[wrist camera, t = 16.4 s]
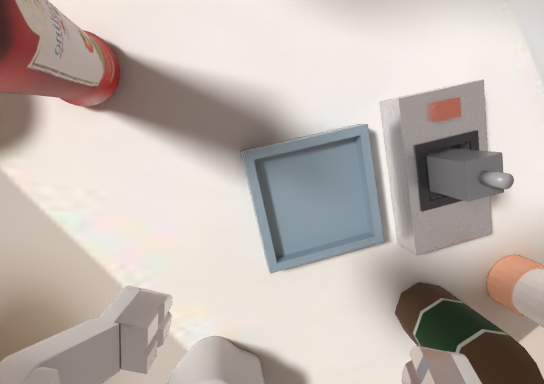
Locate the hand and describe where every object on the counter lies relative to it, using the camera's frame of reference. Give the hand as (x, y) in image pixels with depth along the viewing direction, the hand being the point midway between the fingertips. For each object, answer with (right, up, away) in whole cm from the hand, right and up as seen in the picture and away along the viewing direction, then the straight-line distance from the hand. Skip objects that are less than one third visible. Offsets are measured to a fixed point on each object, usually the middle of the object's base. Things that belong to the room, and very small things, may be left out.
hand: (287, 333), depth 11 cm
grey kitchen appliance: (+19, +8, +29) cm, 35 cm away
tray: (+4, +4, +27) cm, 28 cm away
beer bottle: (+20, -11, +33) cm, 40 cm away
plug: (+19, +8, +28) cm, 34 cm away
